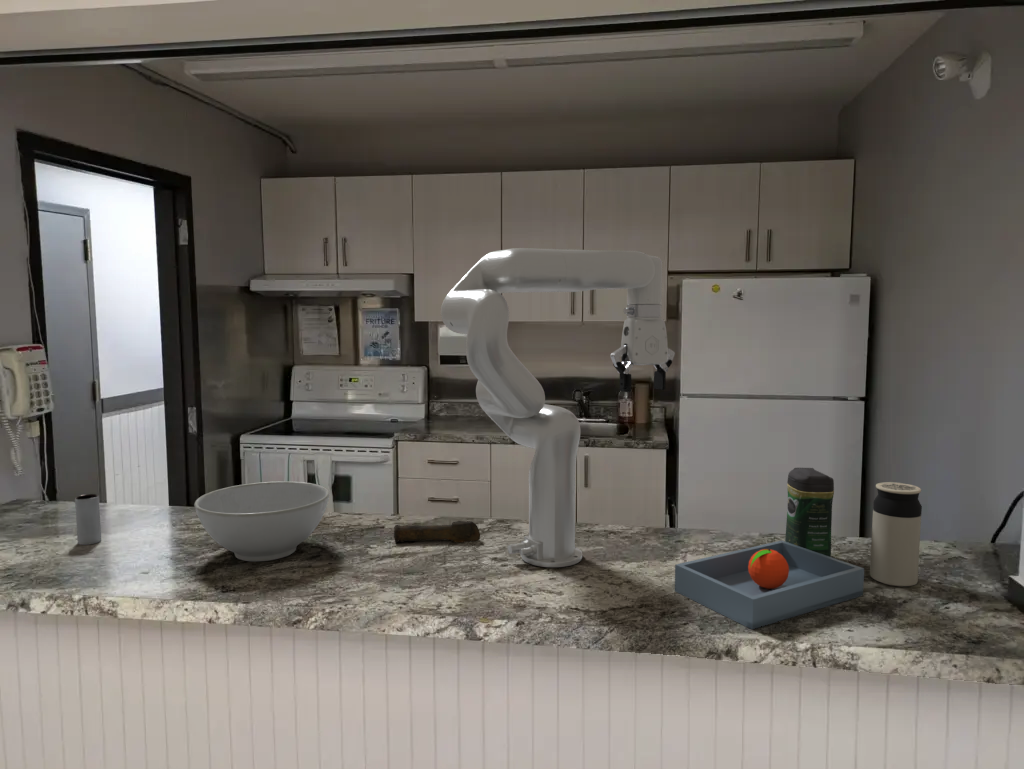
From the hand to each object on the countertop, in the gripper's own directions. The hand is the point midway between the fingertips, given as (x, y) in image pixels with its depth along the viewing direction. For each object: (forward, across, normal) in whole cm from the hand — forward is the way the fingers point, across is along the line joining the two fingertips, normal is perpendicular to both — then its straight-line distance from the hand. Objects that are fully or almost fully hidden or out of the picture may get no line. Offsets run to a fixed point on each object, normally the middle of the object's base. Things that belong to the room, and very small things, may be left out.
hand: (642, 390), depth 157 cm
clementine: (+32, -1, -37) cm, 49 cm away
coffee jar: (+34, +21, -28) cm, 48 cm away
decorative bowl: (+34, -76, +31) cm, 89 cm away
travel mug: (+34, +25, -44) cm, 61 cm away
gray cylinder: (+34, -109, +57) cm, 127 cm away
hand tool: (+34, -41, +20) cm, 57 cm away
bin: (+33, -1, -37) cm, 50 cm away
